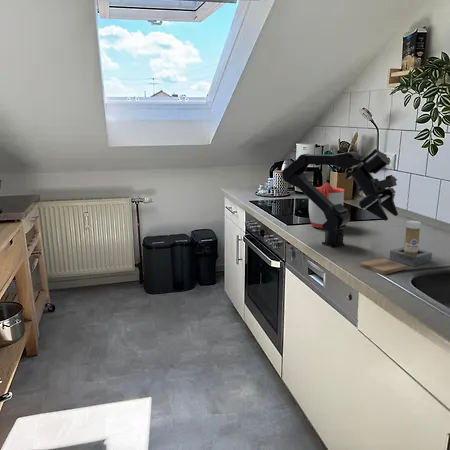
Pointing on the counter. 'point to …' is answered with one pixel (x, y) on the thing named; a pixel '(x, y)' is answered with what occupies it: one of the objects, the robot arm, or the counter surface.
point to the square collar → (410, 257)
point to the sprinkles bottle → (412, 237)
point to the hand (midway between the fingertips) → (392, 217)
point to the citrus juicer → (332, 195)
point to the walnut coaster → (382, 266)
